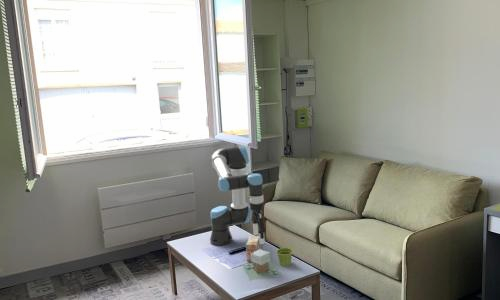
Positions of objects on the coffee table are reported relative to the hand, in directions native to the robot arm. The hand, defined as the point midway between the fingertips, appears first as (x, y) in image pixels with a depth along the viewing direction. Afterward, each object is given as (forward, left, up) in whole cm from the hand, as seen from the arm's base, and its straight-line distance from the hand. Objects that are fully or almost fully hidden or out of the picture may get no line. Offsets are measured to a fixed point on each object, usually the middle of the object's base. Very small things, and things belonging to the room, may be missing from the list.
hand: (259, 239), depth 232 cm
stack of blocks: (-21, +2, -20) cm, 29 cm away
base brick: (0, 0, -18) cm, 18 cm away
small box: (0, 0, -13) cm, 13 cm away
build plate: (0, 0, -19) cm, 19 cm away
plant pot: (-3, +15, -20) cm, 25 cm away
